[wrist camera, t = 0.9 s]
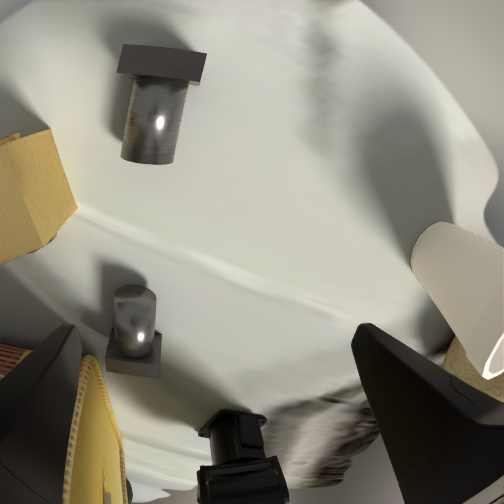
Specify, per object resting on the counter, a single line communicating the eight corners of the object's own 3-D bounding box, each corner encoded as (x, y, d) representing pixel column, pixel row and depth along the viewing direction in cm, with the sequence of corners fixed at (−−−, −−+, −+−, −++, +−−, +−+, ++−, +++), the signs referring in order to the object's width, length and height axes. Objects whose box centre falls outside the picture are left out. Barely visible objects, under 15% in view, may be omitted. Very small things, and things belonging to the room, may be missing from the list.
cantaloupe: (416, 339, 33) (481, 431, 20) (496, 268, 31) (571, 336, 18) (430, 381, 40) (476, 450, 27) (496, 325, 38) (548, 383, 25)
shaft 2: (183, 158, 19) (181, 170, 16) (117, 150, 18) (102, 160, 15) (204, 62, 16) (207, 53, 13) (135, 53, 15) (123, 44, 12)
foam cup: (406, 209, 24) (519, 295, 12) (472, 202, 25) (569, 266, 14) (390, 299, 28) (465, 395, 17) (453, 281, 29) (526, 355, 18)
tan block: (80, 215, 19) (49, 256, 14) (34, 233, 19) (-2, 274, 14) (48, 120, 16) (2, 132, 11) (2, 146, 15) (-47, 167, 10)
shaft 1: (110, 281, 22) (100, 310, 19) (165, 288, 23) (163, 318, 20) (113, 341, 25) (106, 371, 22) (160, 347, 26) (159, 377, 23)
